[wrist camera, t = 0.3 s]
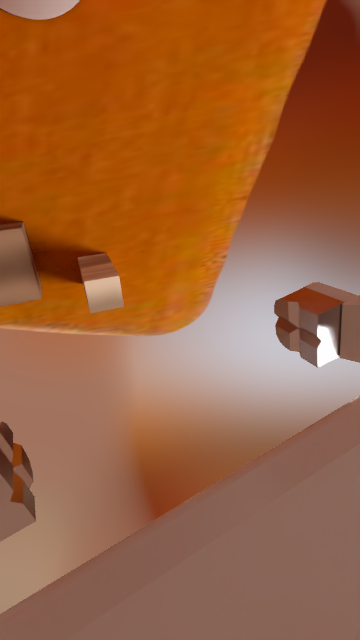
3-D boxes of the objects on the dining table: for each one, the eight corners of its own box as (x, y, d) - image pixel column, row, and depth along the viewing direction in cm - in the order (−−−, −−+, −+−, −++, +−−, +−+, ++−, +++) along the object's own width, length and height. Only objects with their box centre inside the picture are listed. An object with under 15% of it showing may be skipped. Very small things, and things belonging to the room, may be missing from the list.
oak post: (77, 257, 45) (83, 281, 37) (106, 252, 46) (119, 275, 38) (83, 284, 47) (90, 313, 38) (110, 279, 48) (123, 306, 40)
